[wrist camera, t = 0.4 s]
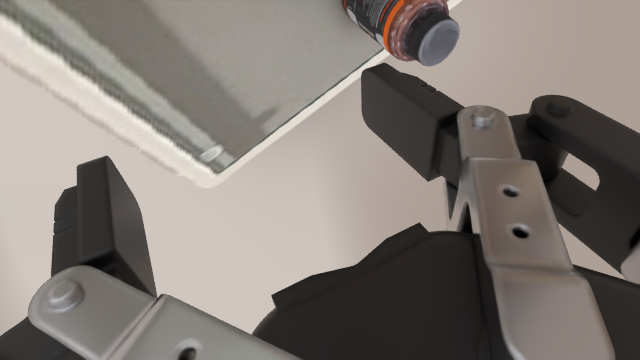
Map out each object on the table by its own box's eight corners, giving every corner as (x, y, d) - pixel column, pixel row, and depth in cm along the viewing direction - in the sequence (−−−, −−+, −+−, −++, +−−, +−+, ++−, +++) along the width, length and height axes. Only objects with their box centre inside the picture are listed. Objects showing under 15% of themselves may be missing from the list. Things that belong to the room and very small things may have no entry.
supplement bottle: (339, 27, 38) (402, 86, 31) (341, -37, 33) (414, 16, 27) (389, 14, 39) (459, 67, 33) (397, -49, 35) (480, -2, 28)
